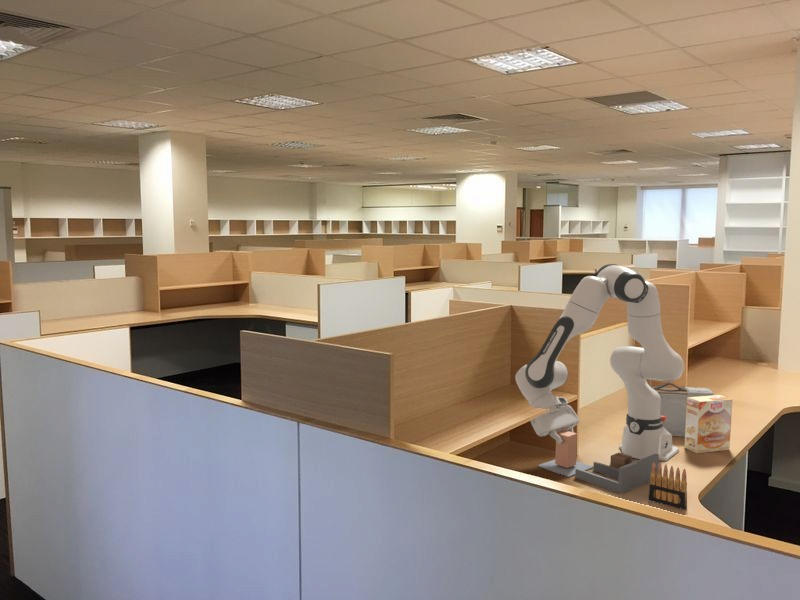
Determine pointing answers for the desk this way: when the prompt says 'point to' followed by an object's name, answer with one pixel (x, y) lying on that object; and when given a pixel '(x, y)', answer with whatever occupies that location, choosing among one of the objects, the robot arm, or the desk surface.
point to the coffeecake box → (708, 423)
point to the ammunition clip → (668, 487)
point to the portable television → (677, 405)
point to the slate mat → (562, 470)
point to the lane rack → (621, 474)
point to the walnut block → (620, 460)
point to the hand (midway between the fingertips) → (567, 441)
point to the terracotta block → (566, 449)
